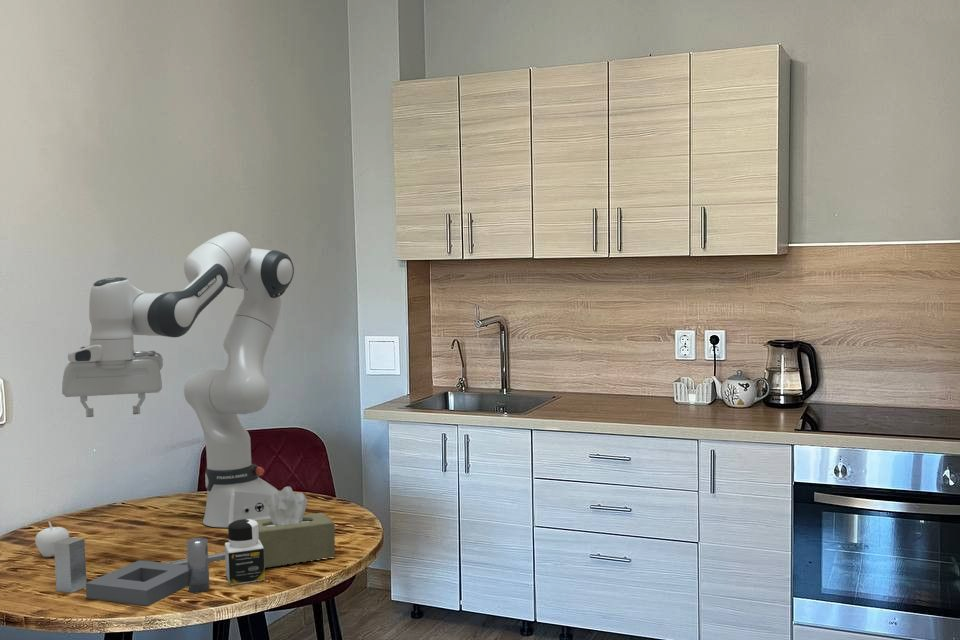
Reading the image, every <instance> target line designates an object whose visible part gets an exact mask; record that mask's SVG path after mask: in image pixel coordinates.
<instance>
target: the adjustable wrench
mask: <svg viewBox="0 0 960 640" xmlns="http://www.w3.org/2000/svg"><path fill="white" fill-rule="evenodd" d="M220 560H222V561H225V551H222V552H218V553H217V552H216V553H212V554H208V564H210V562H211V563H215V562H214V561H217V562H221V561H220ZM164 563H170V564H179V565H188V562H187V558H184V559H178V560H172V561H166V562H164Z"/></svg>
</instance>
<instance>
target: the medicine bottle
mask: <svg viewBox="0 0 960 640" xmlns="http://www.w3.org/2000/svg"><path fill="white" fill-rule="evenodd" d="M227 528H228V542H225V543H224V552H225V560H224V562H225V575H226V579H227V581H228V584H229V586H237V585H242V584H243V585H244V584H249V583H250V582H251V583H257V582H256V581H258V582H262V580H264V581H266V580H265V579H266V573H265V572H266V570H265V569H266V568H265V565H264V547H263V545H262V543H261V542H260V540H259V532H258V523H257V522H256V521H254V520H251V519H241V520H236V521H234V522H232V523H230V524H229V526H228V527H227Z"/></svg>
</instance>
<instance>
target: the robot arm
mask: <svg viewBox="0 0 960 640" xmlns="http://www.w3.org/2000/svg"><path fill="white" fill-rule="evenodd" d="M183 271H184V274H185V277H186V279H187V281H188V285H186V286H185V287H184V288H183V289H182V290H178V291H169V292H167V291H166V292H145V291H144V290H141V289H139V288H137V287H136V286H134V285H133V284H132V283H131V282H130V280H129V279H128V278H127V277H120V276H119V277H112V278H111V277H107V278H102V279H100V280H97V281H95V282H94V283H93V284H92V286H91V289H90V293H89V301H88V303H89V308H88V311H89V314H88V315H89V323H90V326H91V331H90V335H89V345H87V346H84V345H83V346H81V347H80V348H77V349H74V350H71V351H69V352H68V353H67V360H68V361H69V363H67V364H66V366H65V368H64V370H63V375H62V383H61V385H62V386H61V388H62V389H61V394H62V395H63V397H65V398H72V397H73V398H74V397H75V398H76V397H79V400H80V403H81V405H82V406H83V407H84V409H85V417H86V418H93V417H94V415H95V414H94V412H95V411H94V407H91V408H90V407H89V405H88V404H87V403H86V402H88V397H92V396H93V397H94V396H95V397H97V396H98V397H99V396H113V395H118V396H119V395H134V394H135V395H136V394H137V398H138V399H139V400H138V402H137V404H136V405H132V415H140V414H141V407H142V406H143V403H144V401H145V400H146V394H153V393H154V394H155V393H157V394H158V393H160V392H161V390H162V389H163V382H162V381H163V380H162V373H161V370H162V368H163V365H164V361H163V360H164V359H163V356H162V355H161V354H160V353H159V352H156V350H149V351H143V350H142V351H141V350H140V351H139V350H135V349H134V344H135V343H134V336H147V337H148V336H153V337H155V336H158V337H159V336H160V337H168V338H180V337H182V336H184V335H185V334H187V333H188V331H190V329H191V328H192V326H193V325H194V324H195V321H196V320H197V319H198V316H199V315H200V313H202V311H203V310H205V308H207V306H208V305H209V304H211V303H212V301H214V300H215V299H216V298H217V297H218V296H219V294H220V293H222V291H224V289H225V288H226V287H227V288H230V289H239V290H243V298H242V300H241V302H240V304H239V306H238V307H237V309H236V311H235V313H234V316H233V318H232V321H231V323H230V325H229V328H228V329H227V332H226V335H225V337H224V339H223V344H222V345H223V348H224V350H225V353H227V355H228V358H227V365H226V367H225V369H204V370H200V371H197V372H194V373H192V374H191V375H190V376H189V377H187V380H186V381H185V384H184V388H183V396H184V398H185V400H186V402H187V403H188V405H189V406H190V407H191V408H192V409H193V411H194V412H195V414H196V416H197V418H198V421H199V422H200V426H201V428H202V432H203V436H204V442H205V451H206V452H205V453H206V467H205V473H204V476H205V477H204V478H205V480H204V481H205V488H206V490H207V491H206V504H205V511H204V515H203V519H202V524H203V525H205V526H208V527H213V528H228V526H229V524H230V523H232V522H234V521H236V520H241V519H251V520H263V519H271V518H270V515H269V512H268V509H267V506H266V504H265V501H264V500H266V499H268V498H269V497H270V496H271V495H272V494H277V493H278V492H280V491H279V490H278V489H277V488H276V487H275V486H273V485H272V484H270V483H269V482H267V481H265V480H264V479H262V478H260V476H263V475H264V474H265V469H264V468H263V467H262V466H258V465H256V464H254V463H252V451H251V450H252V448H251V447H252V446H251V436H250V434H249V431H248V430H247V429H246V428H245V427H244V426H243V425H242V423H241V422H240V419H239V417H238V415H247V414H253V413H254V414H255V413H257V412H260V411H262V410H263V409H264V408H265V407H266V406H267V404H268V402H269V398H270V387H269V383H268V381H267V379H266V378H265V375H264V362H265V361H264V360H265V356H266V354H267V351H268V348H269V345H270V342H271V339H272V337H273V335H274V332H275V329H276V327H277V324H278V319H279V316H280V314H281V313H280V312H281V307H282V299H281V296H282V295H283V294H285V292H286V290H287V289H288V288H289V286H290V284H291V283H292V281H293V278H294V273H295V272H294V271H295V267H294V263H293V261H292V258H291V257H290V256H289V255H288V254H287V253H284V252H282V251H279V250H275V249H272V250H270V249H265V248H257V247H256V248H255V247H253V248H252V246H251V243H250V242H249V240H248V239H247V238H246V236H245V235H243V234H241V233H239V232H237V231H226V232H223V233H221V234H218V235H216V236H214V237H212V238H210V239H208V240H206V241H205V242H203V243H202V244H200V245H199V246H197V247H196V248H195V249H193V250H192V251H191V252H190V253H189V254H188V255H187V256H186V258H185V259H184V262H183Z"/></svg>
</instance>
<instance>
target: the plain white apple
mask: <svg viewBox="0 0 960 640" xmlns="http://www.w3.org/2000/svg"><path fill="white" fill-rule="evenodd" d="M48 524H49V525H48V526H49V527H48V528H47V527H46V528H44V529H42V530H40V531H39V532H37V533H36V535H35V539H34V541H35V546H36V548H37V549H38V551H39V552H40V554H41V555H42V557H44V558H51V557H55V555H54V542H57V541H60V540H63V539H65V538H68V537H70V534H69V531H68V530H67V529H66V528H65V527H62V526H56V527H55V526H53V525H52V523H51V521H49V520H48Z"/></svg>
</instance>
